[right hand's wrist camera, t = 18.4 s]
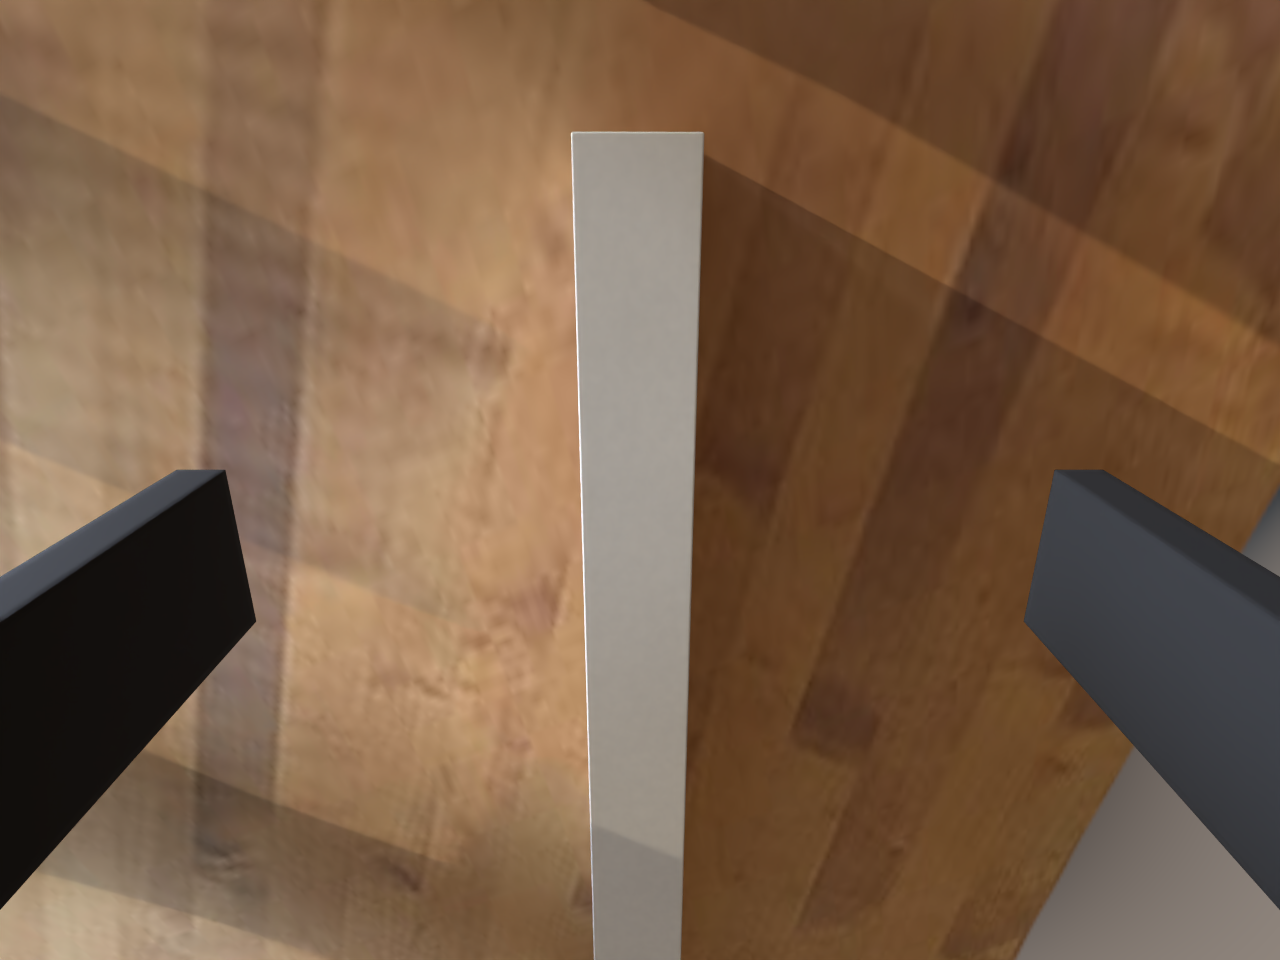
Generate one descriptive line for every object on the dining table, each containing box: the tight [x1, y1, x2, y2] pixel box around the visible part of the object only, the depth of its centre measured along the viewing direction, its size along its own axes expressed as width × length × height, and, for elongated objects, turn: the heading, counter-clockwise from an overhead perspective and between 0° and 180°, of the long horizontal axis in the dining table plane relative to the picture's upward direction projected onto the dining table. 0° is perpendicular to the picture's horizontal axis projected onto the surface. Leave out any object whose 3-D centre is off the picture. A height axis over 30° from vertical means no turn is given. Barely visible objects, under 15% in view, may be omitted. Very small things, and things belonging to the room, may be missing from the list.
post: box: [571, 132, 704, 960], centre depth 41 cm, size 57×5×8 cm, turn 0°
